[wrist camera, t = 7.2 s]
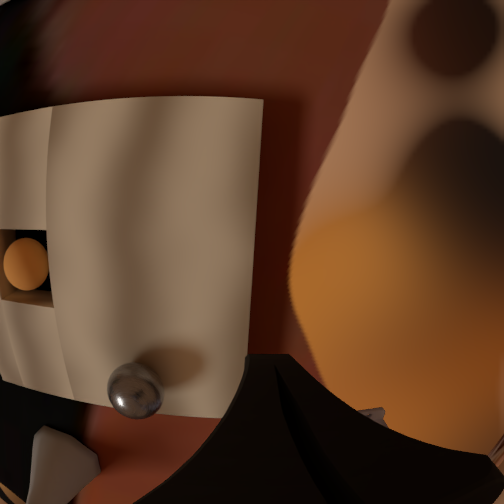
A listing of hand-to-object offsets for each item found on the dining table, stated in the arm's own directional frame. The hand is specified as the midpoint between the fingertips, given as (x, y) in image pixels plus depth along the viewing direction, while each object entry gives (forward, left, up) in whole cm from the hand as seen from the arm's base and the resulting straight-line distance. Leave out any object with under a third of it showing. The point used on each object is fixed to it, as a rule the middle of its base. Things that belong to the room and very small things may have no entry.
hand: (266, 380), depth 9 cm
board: (+9, -1, -9) cm, 13 cm away
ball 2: (+6, +5, -5) cm, 9 cm away
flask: (+16, +18, -10) cm, 26 cm away
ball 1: (+14, -1, -8) cm, 16 cm away
